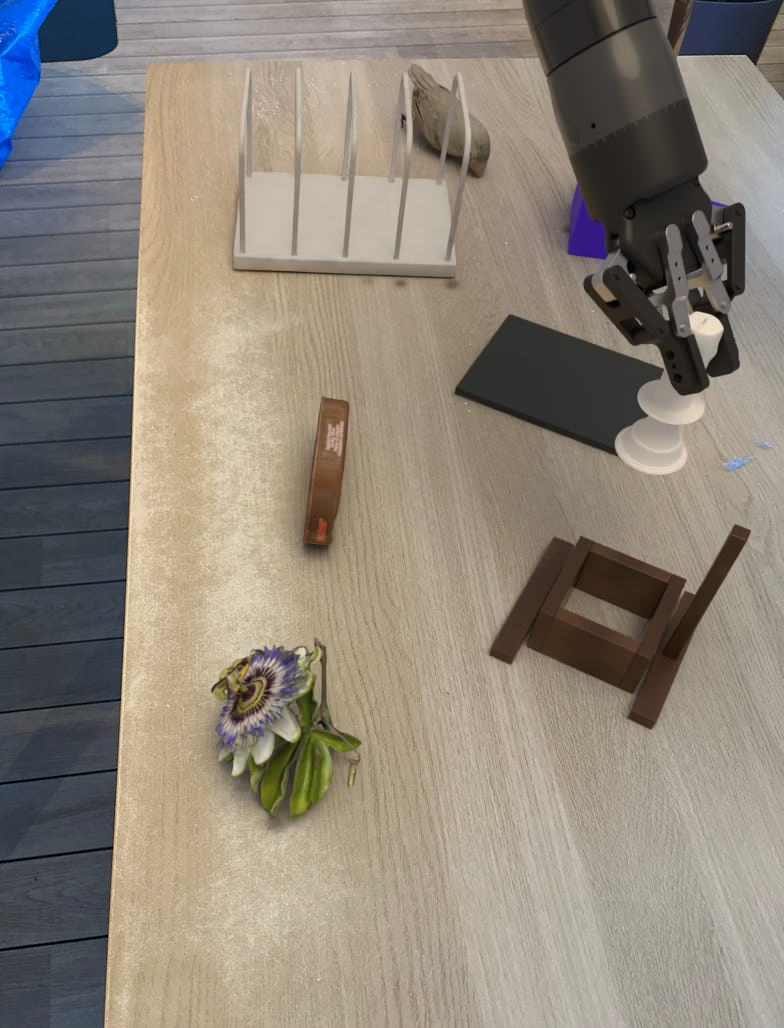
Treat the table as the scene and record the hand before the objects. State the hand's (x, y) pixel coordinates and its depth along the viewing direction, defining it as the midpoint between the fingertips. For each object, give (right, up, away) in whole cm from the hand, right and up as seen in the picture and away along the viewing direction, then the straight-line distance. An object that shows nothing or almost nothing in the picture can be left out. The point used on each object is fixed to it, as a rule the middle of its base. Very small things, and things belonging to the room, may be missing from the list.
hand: (710, 381), depth 67 cm
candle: (-1, -3, +8) cm, 8 cm away
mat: (0, +8, +35) cm, 36 cm away
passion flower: (-29, -26, +10) cm, 40 cm away
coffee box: (+17, +54, +68) cm, 88 cm away
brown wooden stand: (-2, -17, +17) cm, 24 cm away
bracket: (+13, +30, +51) cm, 61 cm away
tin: (-25, -5, +25) cm, 36 cm away
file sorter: (-23, +31, +50) cm, 63 cm away
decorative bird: (-9, +46, +61) cm, 77 cm away
